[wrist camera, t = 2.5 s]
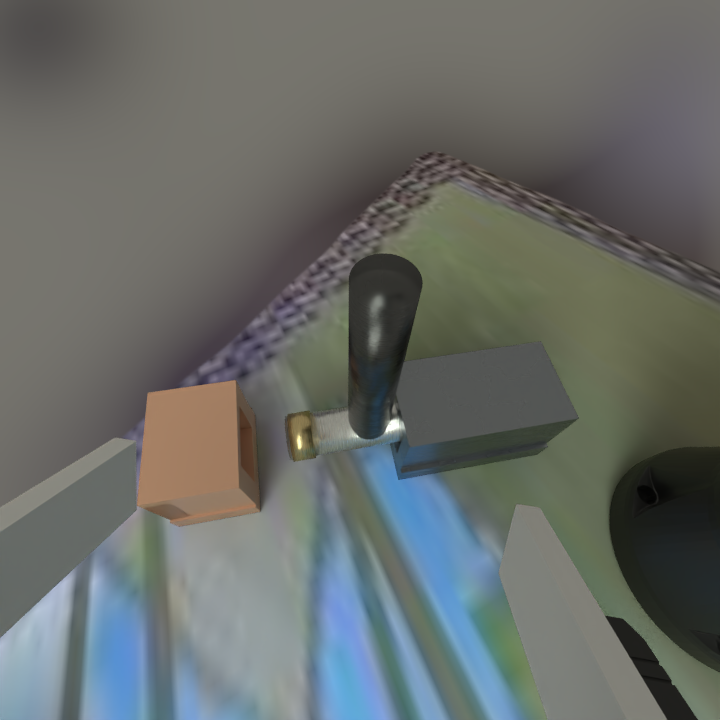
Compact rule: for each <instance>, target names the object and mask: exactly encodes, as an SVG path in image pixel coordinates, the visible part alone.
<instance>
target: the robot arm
mask: <svg viewBox="0 0 720 720" xmlns="http://www.w3.org/2000/svg"><path fill="white" fill-rule="evenodd" d="M135 511H136V441H133V440H126V439H120V438H114V439H112V440H110V441H109V442H107V443H106V444H104V445H102V446H101V447H99V448H97V449H96V450H94V451H92V452H91V453H89V454H87V455H86V456H84V457H82V458H81V459H79V460H77V461H76V462H74V463H73V464H71V465H69V466H68V467H66V468H64V469H63V470H61V471H59V472H58V473H56V474H55V475H53V476H51V477H50V478H48V479H46V480H45V481H43V482H41V483H40V484H38V485H37V486H35V487H33V488H31V489H30V490H28V491H26V492H25V493H23V494H21V495H20V496H18V497H16V498H15V499H13V500H12V501H10V502H8V503H7V504H5V505H3V506H2V507H0V637H2V636H3V635H4V634H5V633H6V632H7V631H8V630H9V629H10V628H11V627H12V626H13V625H14V624H15V623H16V622H18V621H19V620H20V619H21V618H22V617H23V616H24V615H25V614H26V613H27V612H28V611H29V610H30V609H31V608H33V607H34V606H35V605H36V604H37V603H38V602H39V601H40V600H41V599H42V598H43V597H44V596H45V595H46V594H47V593H49V592H50V591H51V590H52V589H53V588H54V587H55V586H56V585H57V584H58V583H59V582H60V581H61V580H62V579H63V578H65V577H66V576H67V575H68V574H69V573H70V572H71V571H72V570H73V569H74V568H75V567H76V566H77V565H78V564H79V563H81V562H82V561H83V560H84V559H85V558H86V557H87V556H88V555H89V554H90V553H91V552H92V551H93V550H94V549H96V548H97V547H98V546H99V545H100V544H101V543H102V542H103V541H104V540H105V539H106V538H107V537H108V536H109V535H110V534H112V533H113V532H114V531H115V530H116V529H117V528H118V527H119V526H120V525H121V524H122V523H123V522H124V521H125V520H126V519H128V518H129V517H130V516H131V515H132V514H133V513H134V512H135ZM610 528H611V537H612V542H613V547H614V551H615V554H616V558H617V560H618V563H619V566H620V568H621V571H622V573H623V575H624V577H625V579H626V581H627V584H628V585H629V587H630V589H631V591H632V592H633V594H634V596H635V597H636V599H637V600H638V602H639V603H640V605H641V606H642V608H643V609H644V610H645V612H646V613H647V614H648V615H649V617H650V618H651V619H652V620H653V621H654V623H655V624H656V625H657V626H658V627H659V628H660V629H661V630H662V631H663V632H664V633H665V634H666V635H667V636H668V637H669V638H670V639H671V640H672V641H673V642H674V643H676V644H677V645H678V646H679V647H680V648H682V649H683V650H684V651H685V652H687V653H688V654H689V655H691V656H692V657H694V658H695V659H697V660H698V661H700V662H702V663H703V664H705V665H707V666H708V667H710V668H712V669H714V670H716V671H718V672H720V447H684V448H678V449H673V450H669V451H665V452H662V453H660V454H658V455H656V456H653V457H651V458H649V459H647V460H644V461H642V462H640V463H639V464H637V465H635V466H634V467H633V468H631V469H630V470H629V471H628V472H627V473H626V474H625V475H624V477H623V478H622V479H621V481H620V483H619V484H618V486H617V488H616V491H615V493H614V496H613V500H612V504H611V512H610ZM499 576H500V579H501V582H502V585H503V588H504V591H505V594H506V597H507V600H508V603H509V606H510V609H511V612H512V615H513V618H514V621H515V624H516V627H517V630H518V633H519V636H520V639H521V642H522V645H523V648H524V650H525V653H526V656H527V659H528V662H529V665H530V668H531V671H532V674H533V677H534V680H535V683H536V686H537V689H538V692H539V695H540V698H541V701H542V704H543V707H544V710H545V713H546V716H547V719H548V720H698V719H697V718H696V716H695V715H694V713H693V712H692V710H691V709H690V707H689V706H688V704H687V703H686V701H685V700H684V698H683V697H682V696H681V694H680V693H679V691H678V690H677V688H676V687H675V685H672V683H671V679H670V678H669V676H668V675H667V673H666V672H665V670H664V669H663V667H662V666H660V665H659V661H658V660H657V658H656V657H655V655H654V654H653V652H652V651H651V649H650V648H649V646H648V645H647V643H646V642H645V640H644V639H643V638H642V637H641V636H640V635H639V634H638V633H637V632H636V631H635V630H634V629H633V628H632V627H631V626H630V625H629V624H628V623H627V622H626V621H625V620H623V619H621V618H615V617H610V616H605V615H604V614H603V612H602V610H601V609H600V607H599V605H598V604H597V602H596V600H595V599H594V597H593V595H592V594H591V592H590V590H589V589H588V587H587V585H586V584H585V582H584V580H583V579H582V577H581V575H580V574H579V572H578V570H577V569H576V567H575V565H574V564H573V562H572V560H571V559H570V557H569V555H568V554H567V552H566V550H565V549H564V547H563V545H562V544H561V542H560V540H559V539H558V537H557V535H556V534H555V532H554V530H553V529H552V527H551V525H550V524H549V522H548V520H547V519H546V517H545V515H544V514H543V512H542V510H541V509H540V508H539V507H533V506H527V505H521V504H516V507H515V511H514V515H513V519H512V522H511V526H510V530H509V534H508V538H507V542H506V546H505V550H504V554H503V558H502V562H501V566H500V570H499Z"/></svg>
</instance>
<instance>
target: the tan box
mask: <svg viewBox="0 0 720 720" xmlns="http://www.w3.org/2000/svg"><path fill="white" fill-rule="evenodd" d="M137 506H139V507H141V508H143V509H146V510H148V511H151V512H153V513H155V514H158V515H160V516H162V517H165V518H167V519H169V520H170V523H172V524H174V525H177V526H179V527H180V526H185V525H191V524H196V523H202V522H207V521H213V520H218V519H223V518H229V517H234V516H240V515H245V514H251V513H256V512H260V493H259V474H258V456H257V437H256V419H255V414H254V412H253V410H252V408H251V407H250V406H249V404H248V403H247V401H246V399H245V397H244V395H243V393H242V391H241V389H240V387H239V385H238V383H237V381H236V380H233V381H226V382H219V383H212V384H205V385H199V386H192V387H185V388H178V389H171V390H164V391H157V392H150V393H148V397H147V406H146V417H145V427H144V437H143V448H142V458H141V468H140V479H139V489H138V499H137Z"/></svg>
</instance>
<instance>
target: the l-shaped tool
mask: <svg viewBox="0 0 720 720" xmlns="http://www.w3.org/2000/svg"><path fill="white" fill-rule="evenodd" d="M421 289H422V277H421V274H420V272H419V271H418V269H417V268H416V267H415V266H414V265H413V264H412V263H411V262H410V261H408V260H406V259H405V258H402V257H400V256H397V255H393V254H375V255H371V256H368V257H365V258H363V259H362V260H360V261H359V262H358V263H356V264H355V266H354V267H353V268H352V270H351V272H350V276H349V377H348V407H342V408H336V409H329V410H323V411H317V412H310V411H304V412H297V413H291V414H288V415H287V416H285V431H286V439H287V446H288V452H289V456H290V459H291V460H293V461H294V462H295V461H301V460H307V459H313V458H316V456H318V455H324V454H329V453H335V452H341V451H347V450H353V449H359V448H365V447H370V446H376V445H382V444H388V443H394V442H400V441H402V438H403V434H402V430H401V426H400V422H399V418H398V414H397V410H396V406H395V402H394V401H395V396H396V392H397V388H398V384H399V380H400V376H401V372H402V368H403V363H404V359H405V355H406V351H407V347H408V343H409V339H410V335H411V330H412V326H413V322H414V318H415V314H416V310H417V306H418V302H419V297H420V293H421Z"/></svg>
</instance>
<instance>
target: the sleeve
mask: <svg viewBox="0 0 720 720" xmlns="http://www.w3.org/2000/svg"><path fill="white" fill-rule="evenodd" d="M394 402H395V406H396V410H397V414H398V418H399V422H400V426H401V430H402V434H403V438H402V441H400V442H394V443H390V445H391V449H392V453H393V458H394V462H395V466H396V471H397V475H398V480H400V479H405V478H411V477H416V476H422V475H427V474H433V473H438V472H444V471H449V470H455V469H460V468H466V467H471V466H477V465H482V464H488V463H493V462H499V461H504V460H510V459H515V458H521V457H526V456H532V455H537V454H539V453H540V452H541V451H543V450H544V449H545V448H547V447H548V446H547V444H546V443H547V442H548V441H550V440H551V439H552V438H554V437H555V436H556V435H558V434H559V433H560V432H562V431H563V430H564V429H565V428H567V427H568V426H569V425H571V424H572V423H573V422H575V421H576V420H577V419H579V417H578V415H577V413H576V411H575V409H574V407H573V405H572V403H571V401H570V399H569V397H568V395H567V393H566V391H565V389H564V387H563V385H562V383H561V381H560V379H559V377H558V375H557V373H556V371H555V369H554V367H553V365H552V363H551V361H550V359H549V357H548V355H547V353H546V351H545V349H544V347H543V345H542V343H541V341H540V342H533V343H527V344H520V345H513V346H506V347H499V348H493V349H486V350H479V351H472V352H465V353H458V354H452V355H445V356H438V357H431V358H424V359H418V360H411V361H404V363H403V368H402V372H401V376H400V380H399V384H398V388H397V392H396V396H395V401H394Z"/></svg>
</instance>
